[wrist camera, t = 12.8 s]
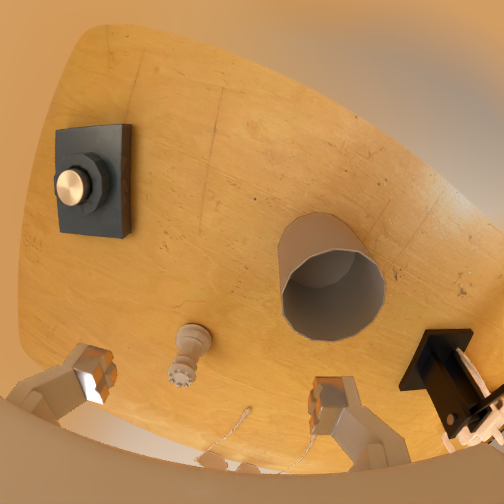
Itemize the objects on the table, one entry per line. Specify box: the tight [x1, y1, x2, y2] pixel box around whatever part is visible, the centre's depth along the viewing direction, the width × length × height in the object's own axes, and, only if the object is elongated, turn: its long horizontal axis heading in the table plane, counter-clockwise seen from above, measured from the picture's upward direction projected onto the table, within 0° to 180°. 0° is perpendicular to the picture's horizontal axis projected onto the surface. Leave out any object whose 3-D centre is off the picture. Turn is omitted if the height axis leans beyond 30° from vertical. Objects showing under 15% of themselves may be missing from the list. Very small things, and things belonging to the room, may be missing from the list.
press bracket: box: [399, 329, 493, 439], centre depth 30 cm, size 11×9×14 cm
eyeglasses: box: [194, 408, 317, 473], centre depth 43 cm, size 15×18×4 cm
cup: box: [278, 212, 386, 342], centre depth 27 cm, size 8×8×10 cm
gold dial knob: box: [57, 168, 92, 206], centre depth 25 cm, size 4×4×2 cm
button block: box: [54, 124, 131, 239], centre depth 28 cm, size 12×9×4 cm
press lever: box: [464, 384, 504, 427], centre depth 21 cm, size 16×6×2 cm, turn 175°
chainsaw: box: [441, 347, 504, 453], centre depth 34 cm, size 15×35×12 cm, turn 47°
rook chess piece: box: [167, 324, 212, 388], centre depth 33 cm, size 4×4×8 cm
